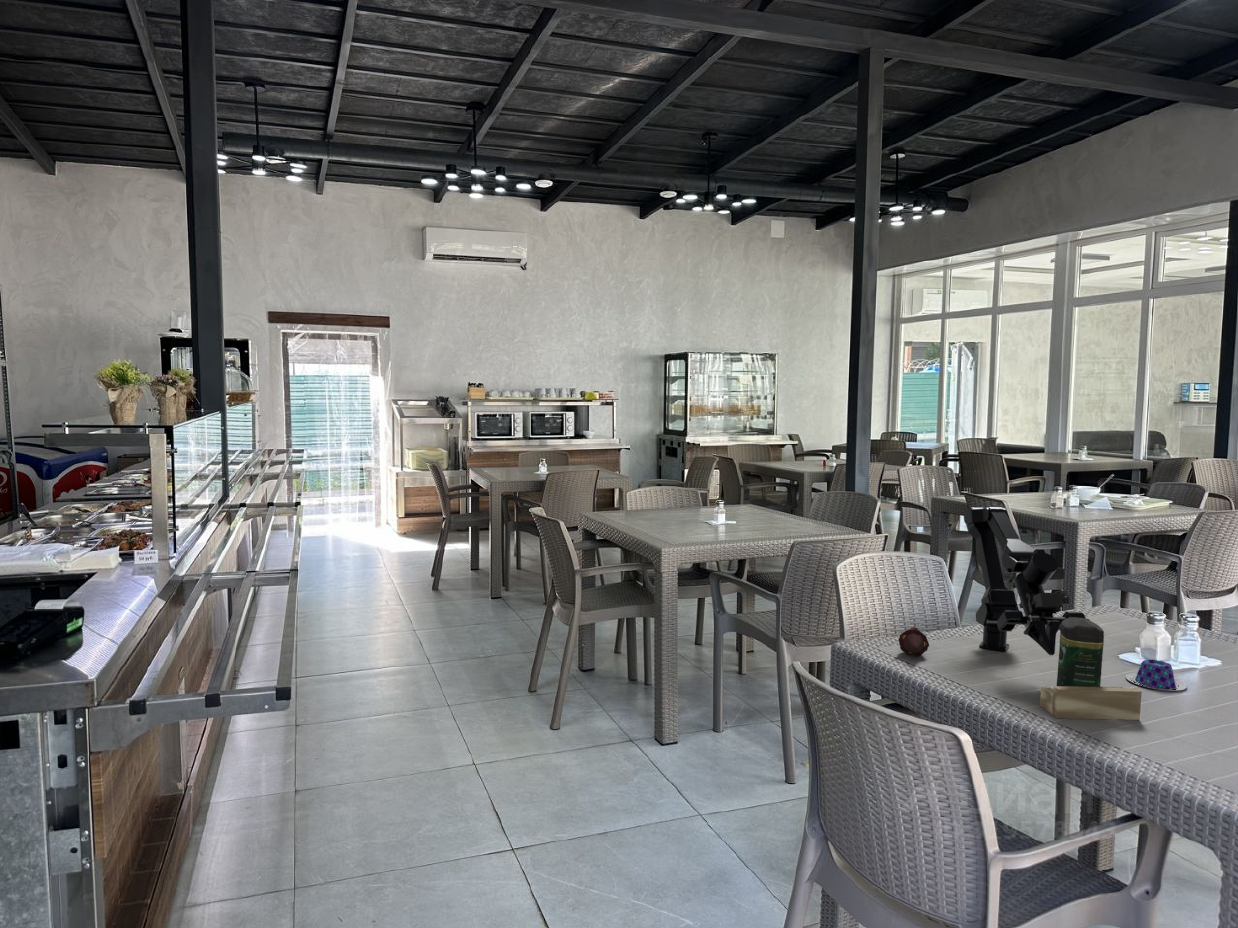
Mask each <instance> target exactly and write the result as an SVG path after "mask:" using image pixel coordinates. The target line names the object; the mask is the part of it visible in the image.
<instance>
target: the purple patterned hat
mask: <svg viewBox="0 0 1238 928" xmlns="http://www.w3.org/2000/svg"><path fill="white" fill-rule="evenodd" d="M1137 670H1138V671H1137V672H1131V673H1127V674H1126V675H1125V678H1126V680H1128V681H1129V682H1131V683H1133V684H1135V685H1138V686H1142V685H1139V683H1140V684H1143V686H1142V687H1144V688H1148V689H1152V690H1153V689H1154V690H1157V688H1158V690H1160V691H1165V690H1166V689H1167V690H1166V691H1167V692H1168V691H1170V692H1171V691H1172V692H1173V691H1174V692H1175V691H1176V692H1177V691H1183V690H1186V688H1187V685H1186V684H1185V683H1184V682H1182V681H1180V680H1178V679H1176V678H1175V676H1174V671H1173V667H1172V665H1171V664H1170V663H1169V662H1165V661H1164V660H1159V659H1148V658H1147V659H1144V660H1142V661H1141V662H1140V666H1139V669H1137ZM1134 676H1136V678H1135V679H1134V680H1136V681H1135V682H1137V681H1139V682H1137V683H1138V684H1137V683H1134V682H1133V681H1131V680H1130V679H1129V678H1133V677H1134ZM1175 681H1176V683H1177V684H1178V685H1179V688H1178V689H1176V688H1177V686H1176V684H1175ZM1145 685H1147V687H1146V686H1145ZM1148 686H1149V687H1148ZM1151 687H1152V688H1151ZM1170 688H1175V689H1176V690H1172V689H1170ZM1168 689H1169V690H1168Z"/></svg>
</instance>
